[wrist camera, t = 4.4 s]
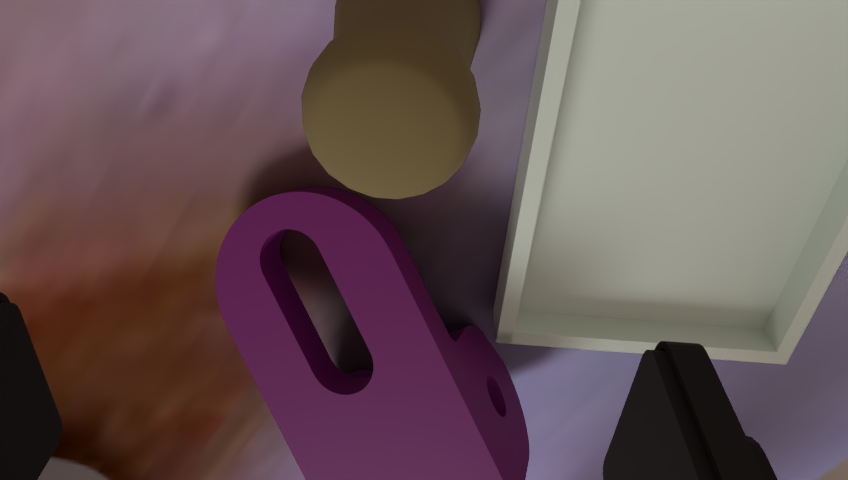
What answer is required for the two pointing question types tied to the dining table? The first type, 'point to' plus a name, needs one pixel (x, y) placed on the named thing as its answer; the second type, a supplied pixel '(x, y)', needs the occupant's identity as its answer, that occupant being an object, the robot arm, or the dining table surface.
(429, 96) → the cork
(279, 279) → the mounting bracket
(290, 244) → the dining table surface
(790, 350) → the tray
